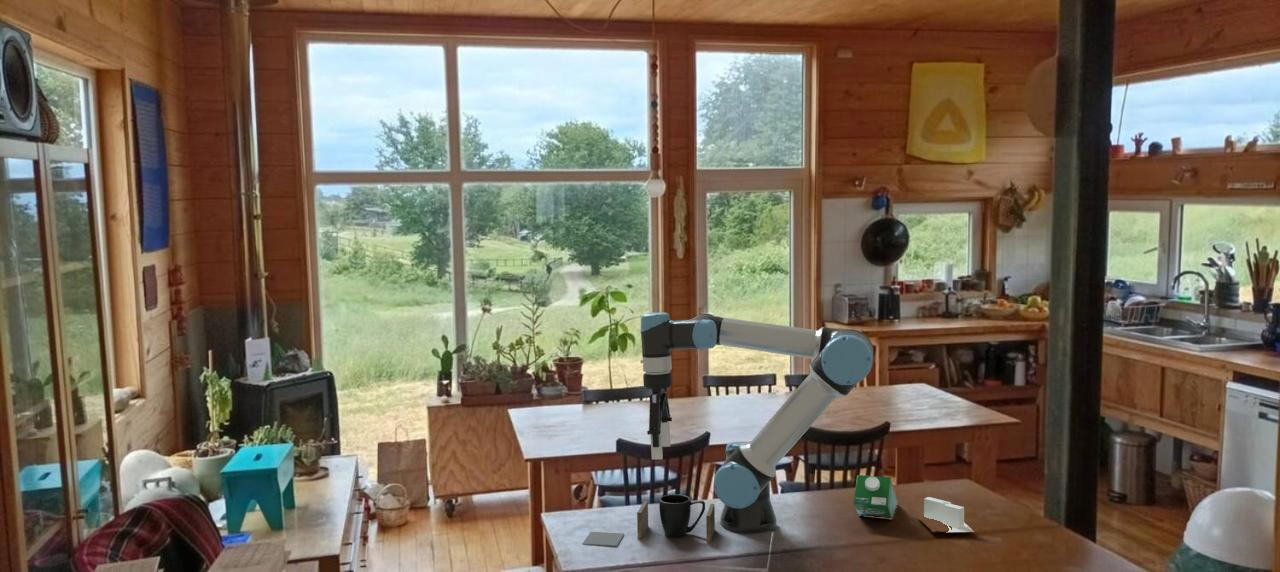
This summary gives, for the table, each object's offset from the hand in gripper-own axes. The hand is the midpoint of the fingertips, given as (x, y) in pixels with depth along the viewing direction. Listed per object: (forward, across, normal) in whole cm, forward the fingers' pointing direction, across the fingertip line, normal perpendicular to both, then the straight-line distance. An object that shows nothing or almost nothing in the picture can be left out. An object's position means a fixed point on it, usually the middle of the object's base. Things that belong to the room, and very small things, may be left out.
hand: (661, 452), depth 239 cm
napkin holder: (+25, -20, +73) cm, 80 cm away
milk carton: (+30, -38, +58) cm, 76 cm away
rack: (+22, 0, +3) cm, 22 cm away
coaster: (+21, +7, -15) cm, 27 cm away
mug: (+22, -1, +4) cm, 23 cm away
